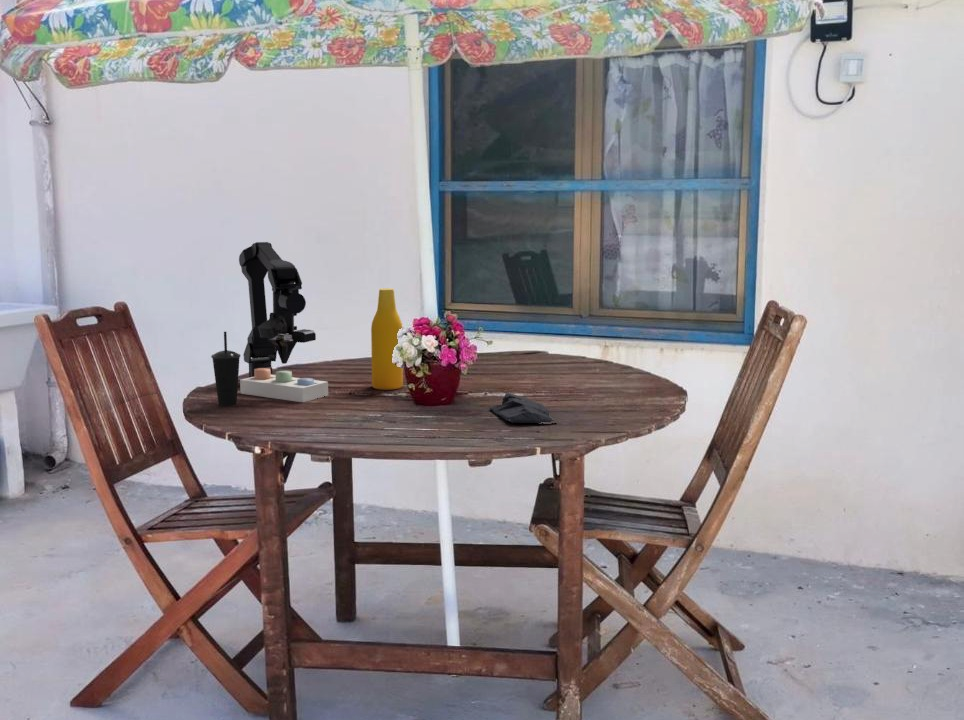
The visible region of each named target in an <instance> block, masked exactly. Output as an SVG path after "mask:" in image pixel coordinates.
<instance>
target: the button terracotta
mask: <svg viewBox="0 0 964 720" xmlns="http://www.w3.org/2000/svg"><path fill="white" fill-rule="evenodd" d="M254 379H258V380H267V379H271V369H269V368H257V369H254Z"/></svg>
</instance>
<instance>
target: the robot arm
mask: <svg viewBox="0 0 964 720" xmlns="http://www.w3.org/2000/svg"><path fill="white" fill-rule="evenodd" d="M238 263H239V266H240V267H241V273H242V274H243V276H244V277H245V279H246V280H247V284H248V295H249V296H248V297H249V306H250V308H249V309H250V319H251V330H250V332H249V334H248V335H247V342H246V346H245V348H244V351H243V361H244V363H247V364H248V373H249V374H248V378H250V377H254V369H257V368H269V369H271V374H272V375H273V366H272V362H277V360H276V359H277V353H278V356H279V359H280V362H281V364H287V363H288V361H289V358H290V356H291V354H292V353H293V350H294V348H295V346H296V344H297V343H303V344H304V343H308V342H313V341H316V339H317V338H316V337H317V336H316V334H317V333H316V332H315V331H314V329H313V330H312V329H305V328H304V329H298V326H297V325H295V317H297V315H298V314H300V313H302V312H303V311H304V310H305V309H306V307H307V306H306V304H307V302H306V299H305V297H304V295H303V294H301V293H299V292H300V290H302V289H303V287H302V285H303V282H302V279H301V276H300V274H299V271H298V269H297V268H296V266H295V265H294V264H293V263H292V262H290V261H287V260H284V259H282V257H280V255H279V254H278V253H277V252H276V251H275V249H274V248H273V245H272V243H271V242H269V241H260V242H259V241H257V242H253V243H252V244H251V246H248V247H246V248H245V249H243V250H242V251H241V252H240V254H239V257H238ZM266 275H267V278H268V282H269V283H270V286H271V291H272V312H269V318H268V313H267V302H266V290H265V289H266V288H265V287H266V286H265V278H266Z"/></svg>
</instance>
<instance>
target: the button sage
mask: <svg viewBox="0 0 964 720" xmlns="http://www.w3.org/2000/svg"><path fill="white" fill-rule="evenodd" d="M274 375H276V382H280V383H287V382H292V377H293V372H292V370H276V371H275V374H274Z"/></svg>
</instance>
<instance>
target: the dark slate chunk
mask: <svg viewBox="0 0 964 720" xmlns="http://www.w3.org/2000/svg"><path fill="white" fill-rule="evenodd" d="M489 410H490V411H492V412H493V413H494V414H495V415H496V416H498V417H501V418H502V419H503V420H505V421H506V422H507V421H509V422H508V423H510V422H511V423H510V424H513V423H541V422H551V421H554V420H555V419H554V420H552V418H550V417H549V414H551V412H550V411H549V410H548V408H546V406H545V405H544V404H542V403H538V402H535V401H533V400H531V399H529V398H527V397H525V396H521V395H517V394H513V393H511V392H510V393H509V392H506V393H505V395H504V397H503V398H502V401H501V404H496V405H491V406H489ZM549 412H550V413H549Z"/></svg>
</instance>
